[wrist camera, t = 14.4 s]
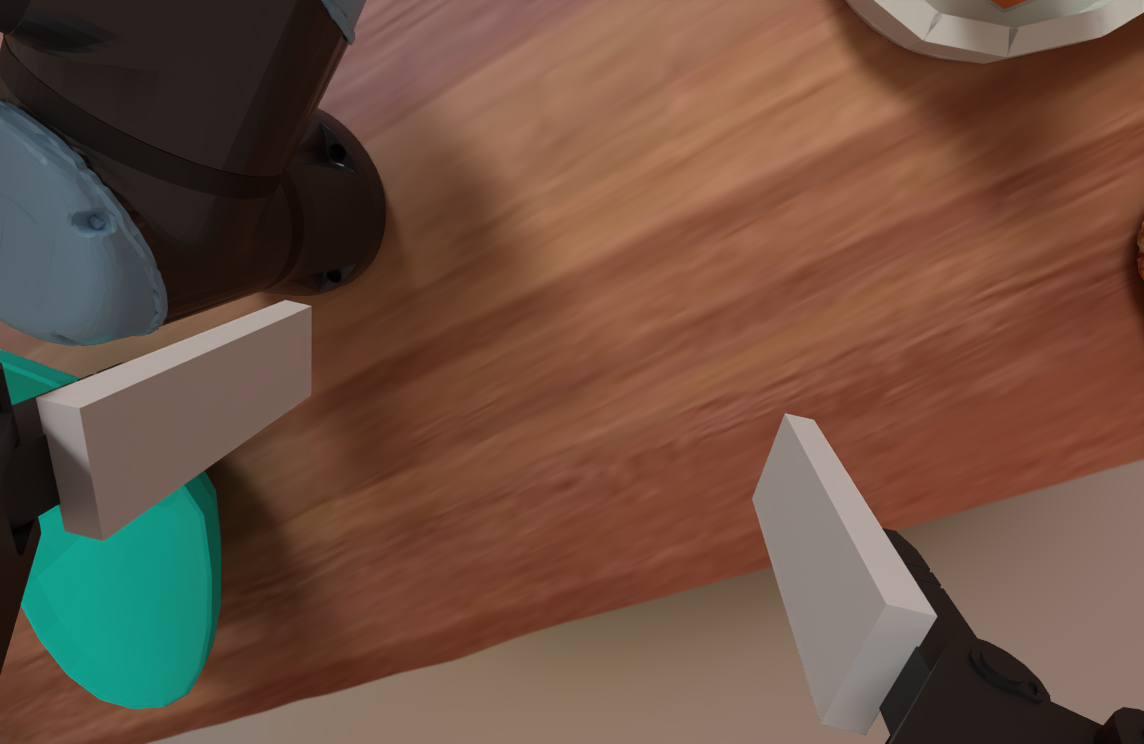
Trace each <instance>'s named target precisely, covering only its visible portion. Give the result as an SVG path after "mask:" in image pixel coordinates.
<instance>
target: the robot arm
mask: <svg viewBox="0 0 1144 744" xmlns="http://www.w3.org/2000/svg"><path fill="white" fill-rule="evenodd" d="M365 2H366V0H0V32H2V33H4V35H3V41H2V45H1V49H0V320H1V321H3V322H4V323H6V324H8V325H9V326H11V327H13V328H15V329H17V330H19V331H21V332H24V333H26V334H28V335H31V336H33V337H36V338H39V339H42V340H45V341H48V342H53V343H57V344H63V345H71V346H75V345H81V346H85V345H96V344H102V343H105V342H109V341H113V340H117V339H121V338H125V337H130V336H144V335H147V334H150V333H152V332H154V331H155V330H158V329H159V328H158V327H160V326H163V325H166V324H169V323H172V322H175V321H177V320H180V319H183V318H186V317H189V316H192V315H195V314H198V313H200V312H203V311H206V310H209V309H212V308H215V307H218V306H221V305H224V304H226V303H229V302H232V301H235V300H238V299H241V298H244V297H247V296H249V295H252V294H255V293H258V292H268V293H277V294H285V295H293V296H309V295H317V294H322V293H325V292H328V291H331V290H334V289H336V288H338V287H341V286H343V285H346V284H348V283H350V282H351V281H353V280H354V279H356V278H357V277H358V276H360V275H361V274H362V273H363V272H364V271H365V270H366V269H367V268H368V266H369V265H370V264H371V262H372V261H373V259H374V258H375V256H376V254H377V252H378V249H379V247H380V244H381V241H382V238H383V233H384V227H385V202H384V195H383V190H382V186H381V183H380V180H379V177H378V174H377V171H376V169H375V167H374V165H373V163H372V161H371V159H370V157H369V155H368V154H367V152H366V151H365V149H364V148H363V146H362V145H361V143H360V142H359V141H358V140H357V138H356V137H355V136H354V135H353V134H352V133H351V132H350V131H349V130H348V129H347V128H346V127H345V126H344V125H343V124H342V123H340V122H339V121H338V120H337V119H335V118H334V117H332V116H331V115H329V114H328V113H326V112H324V111H322V110H320V109H318V108H317V107H318V105H319V103H320V101H321V99H322V97H323V95H324V93H325V91H326V89H327V87H328V85H329V83H330V81H331V79H332V77H333V75H334V73H335V71H336V68H337V66H338V64H339V62H340V60H341V58H342V56H343V54H344V52H345V50H346V48H347V46H348V44H350V45H352V44H353V42H354V40H355V32H354V28H355V26H356V23H357V21H358V19H359V16H360V14H361V12H362V9H363V7H364V4H365ZM311 373H312V306H309V305H305V304H301V303H296V302H292V301H287V300H284V301H282V302H279V303H277V304H274V305H272V306H269V307H266V308H264V309H261V310H259V311H256V312H254V313H251V314H249V315H246V316H243V317H241V318H238V319H236V320H233V321H231V322H228V323H226V324H223V325H221V326H218V327H215V328H213V329H210V330H208V331H205V332H203V333H200V334H198V335H195V336H192V337H190V338H187V339H185V340H182V341H180V342H177V343H175V344H172V345H170V346H167V347H164V348H162V349H159V350H157V351H154V352H152V353H149V354H147V355H144V356H141V357H139V358H136V359H134V360H131V361H128V362H123V363H119V364H117V365H114V366H112V367H109V368H107V369H104V370H101V371H99V372H97V374H96V375H94V374H91V375H89V376H86V377H83V378H81V379H78V380H77V382H71V383H68V384H65V385H63V386H60V387H58V388H55V389H53V390H50V391H47V392H45V393H42V394H40V395H37V396H35V397H32V398H29V399H27V400H24V401H22V402H19V403H17V404H14V405H12V403H11V399H10V395H9V390H8V386H7V382H6V378H5V373H4V369H3V365H2V363H1V362H0V674H1V671H2V667H3V664H4V660H5V657H6V654H7V650H8V647H9V643H10V640H11V636H12V633H13V630H14V626H15V623H16V619H17V616H18V613H19V609H20V606H21V602H22V599H23V595H24V592H25V589H26V585H27V582H28V578H29V575H30V572H31V568H32V565H33V561H34V558H35V554H36V551H37V548H38V544H39V541H40V537H41V527H40V522H39V518H38V516H40V515H42V514H44V513H45V512H47V511H49V510H50V509H52V508H54V507H55V506H57V505H59V508H60V512H61V517H62V522H63V526H64V531H65V532H69V533H73V534H77V535H81V536H85V537H89V538H92V539H96V540H100V541H105V540H106V539H107V538H109V537H110V536H112V535H113V534H115V533H116V532H117V531H119V530H120V529H122V528H123V527H125V526H126V525H127V524H129V523H130V522H132V521H133V520H134V519H136V518H137V517H139V516H140V515H142V514H143V513H144V512H146V511H147V510H149V509H150V508H152V507H153V506H154V505H156V504H157V503H159V502H160V501H161V500H163V499H164V498H166V497H167V496H169V495H170V494H171V493H173V492H174V491H176V490H177V489H179V488H180V487H181V486H183V485H184V484H186V483H187V482H188V481H190V480H191V479H193V478H194V477H196V476H197V475H198V474H200V473H201V472H203V471H204V470H206V469H207V468H208V467H210V466H211V465H213V464H214V463H215V462H217V461H218V460H220V459H221V458H223V457H224V456H225V455H227V454H228V453H230V452H231V451H233V450H234V449H235V448H237V447H238V446H240V445H241V444H242V443H244V442H245V441H247V440H248V439H250V438H251V437H252V436H254V435H255V434H257V433H258V432H260V431H261V430H262V429H264V428H265V427H267V426H268V425H269V424H271V423H272V422H274V421H275V420H277V419H278V418H279V417H281V416H282V415H284V414H285V413H287V412H288V411H289V410H291V409H292V408H294V407H295V406H296V405H298V404H299V403H301V402H302V401H304V400H305V399H306V398H308V397H309V396H311ZM752 500H753V503H754V506H755V510H756V513H757V516H758V520H759V523H760V526H761V530H762V533H763V536H764V539H765V543H766V546H767V549H768V553H769V556H770V559H771V563H772V566H773V569H774V572H775V576H776V579H777V582H778V586H779V589H780V592H781V595H782V599H783V602H784V605H785V608H786V612H787V615H788V619H789V622H790V625H791V629H792V631H793V635H794V638H795V641H796V645H797V648H798V651H799V655H800V658H801V662H802V665H803V668H804V671H805V675H806V678H807V681H808V685H809V688H810V691H811V694H812V698H813V701H814V704H815V708H816V711H817V714H818V718H819V721H820V724H822V725H826V726H830V727H834V728H838V729H842V730H846V731H850V732H854V733H858V734H862V735H866V734H867V732H868V730H869V729H870V727H871V725H872V724H873V722H874V720H875V719H876V717H877V716H878V714H879V712H880V711H881V714H882V716H883V718H884V721H885V723H886V726H887V728H888V730H889V733H890V736H889V738H888V740H887V741H886V743H885V744H1144V711H1142V710H1140V709H1133V708H1126V707H1123V708H1121V709H1119V710H1117V711H1115V712H1114V713H1113V714H1112V716H1111V717H1110V718H1109V719H1108V720H1107V722H1106V723H1105V724H1104V725H1101V724H1099V723H1096V722H1094V721H1092V720H1090V719H1088V718H1086V717H1083V716H1081V715H1079V714H1077V713H1075V712H1072V711H1070V710H1068V709H1066V708H1064V707H1062V706H1060V705H1058V704H1055V703H1053V702H1051V700H1050V695H1049V693H1048V692H1047V690H1046V689H1045V687H1044V685H1043V684H1042V682H1041V681H1040V680H1039V679H1038V678H1037V677H1036V676H1035V675H1034V674H1033V673H1032V672H1031V671H1030V670H1029V669H1028V668H1027V667H1026V666H1025V665H1024V664H1023V663H1022V662H1020V661H1019V660H1017V659H1016V658H1015V657H1013V656H1012V655H1011V654H1009V653H1008V652H1006V651H1005V650H1003V649H1001V648H999V647H997V646H995V645H993V644H991V643H989V642H987V641H984V640H981V639H978V638H977V637H976V635H975V634H974V633H973V631H972V630H971V628H970V627H969V625H968V624H967V622H966V621H965V620H964V618H963V617H962V615H961V614H960V612H959V611H958V609H957V608H956V606H955V605H954V603H953V602H952V600H951V599H950V597H949V596H948V594H947V593H946V592H945V590H944V589H942V588H940V586H941V584H940V583H939V581H938V580H937V578H936V577H935V576H934V574H933V573H932V572H930V568H929V567H928V565H927V564H926V562H925V561H924V559H923V558H922V556H921V555H920V554H919V552H918V551H917V549H915V548H914V547H913V546H912V545H911V544H910V543H909V542H908V541H906V540H905V539H904V538H903V537H902V536H901V535H899V534H898V533H897V532H896V531H893V530H889V529H884V528H881V526H880V524H879V523H878V521H877V520H876V518H875V516H874V515H873V513H872V512H871V510H870V508H869V507H868V505H867V504H866V502H865V500H864V499H863V497H862V496H861V494H860V493H859V491H858V489H857V488H856V486H855V485H854V483H853V481H852V480H851V478H850V477H849V475H848V473H847V472H846V470H845V469H844V467H843V466H842V464H841V462H840V461H839V459H838V458H837V456H836V454H835V453H834V451H833V450H832V448H831V446H830V445H829V443H828V442H827V440H826V439H825V437H824V435H823V434H822V432H821V431H820V429H819V427H818V426H817V424H816V423H815V421H814V420H812V419H807V418H803V417H798V416H794V415H790V414H785V415H784V417H783V420H782V422H781V425H780V428H779V430H778V433H777V435H776V438H775V441H774V443H773V446H772V448H771V451H770V454H769V456H768V459H767V461H766V464H765V467H764V469H763V472H762V475H761V477H760V480H759V482H758V485H757V488H756V490H755V493H754V495H753V498H752Z"/></svg>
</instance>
